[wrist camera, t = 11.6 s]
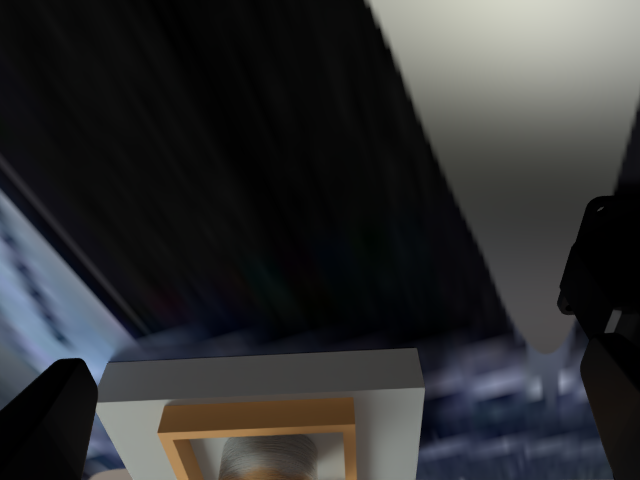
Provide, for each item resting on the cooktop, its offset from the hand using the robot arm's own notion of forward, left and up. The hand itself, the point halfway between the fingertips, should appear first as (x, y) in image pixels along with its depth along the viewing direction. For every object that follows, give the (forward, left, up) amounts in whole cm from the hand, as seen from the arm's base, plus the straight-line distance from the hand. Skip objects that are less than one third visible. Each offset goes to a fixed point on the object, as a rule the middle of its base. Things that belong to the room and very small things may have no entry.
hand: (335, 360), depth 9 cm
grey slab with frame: (+4, +19, -12) cm, 23 cm away
